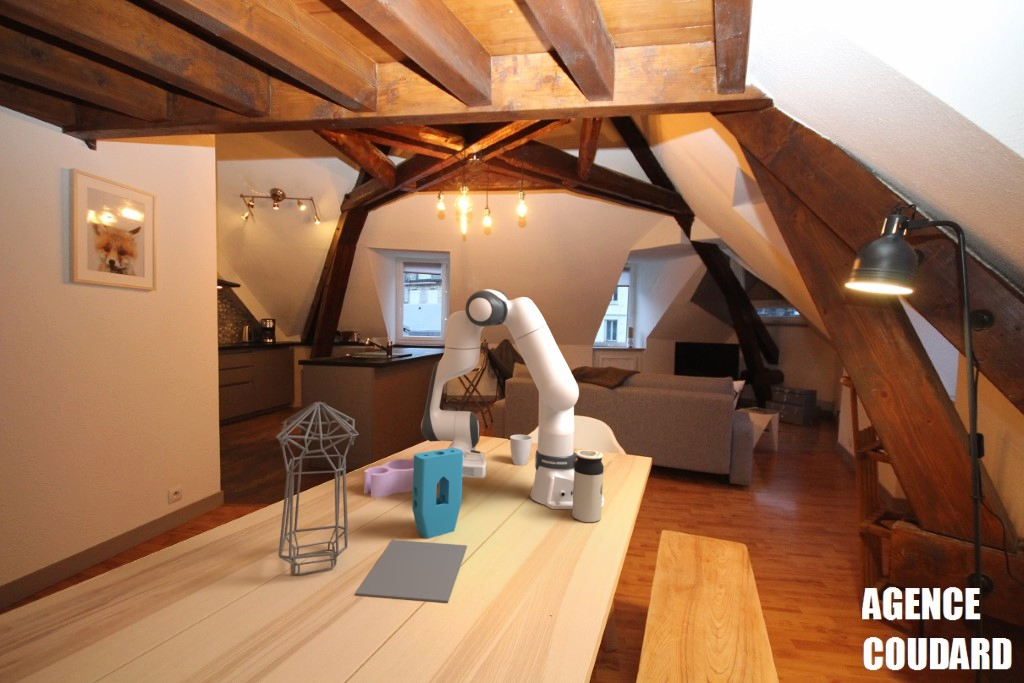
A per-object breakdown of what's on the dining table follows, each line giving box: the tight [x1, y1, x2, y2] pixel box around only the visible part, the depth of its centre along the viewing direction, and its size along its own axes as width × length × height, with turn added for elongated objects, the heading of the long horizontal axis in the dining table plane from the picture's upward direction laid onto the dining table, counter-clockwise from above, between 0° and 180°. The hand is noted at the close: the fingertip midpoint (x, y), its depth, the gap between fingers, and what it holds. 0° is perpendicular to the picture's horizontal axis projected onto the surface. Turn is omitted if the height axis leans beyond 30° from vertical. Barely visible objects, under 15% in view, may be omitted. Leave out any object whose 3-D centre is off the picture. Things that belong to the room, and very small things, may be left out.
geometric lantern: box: [275, 401, 360, 577], centre depth 101 cm, size 16×16×35 cm
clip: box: [363, 457, 414, 499], centre depth 148 cm, size 20×12×7 cm, turn 139°
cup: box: [509, 434, 533, 466], centre depth 177 cm, size 8×8×10 cm
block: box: [411, 447, 463, 539], centre depth 118 cm, size 12×5×20 cm, turn 127°
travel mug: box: [571, 449, 605, 523], centre depth 131 cm, size 8×8×18 cm
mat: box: [355, 539, 468, 604], centre depth 101 cm, size 18×22×1 cm
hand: (446, 475), depth 129 cm, fingers closed
